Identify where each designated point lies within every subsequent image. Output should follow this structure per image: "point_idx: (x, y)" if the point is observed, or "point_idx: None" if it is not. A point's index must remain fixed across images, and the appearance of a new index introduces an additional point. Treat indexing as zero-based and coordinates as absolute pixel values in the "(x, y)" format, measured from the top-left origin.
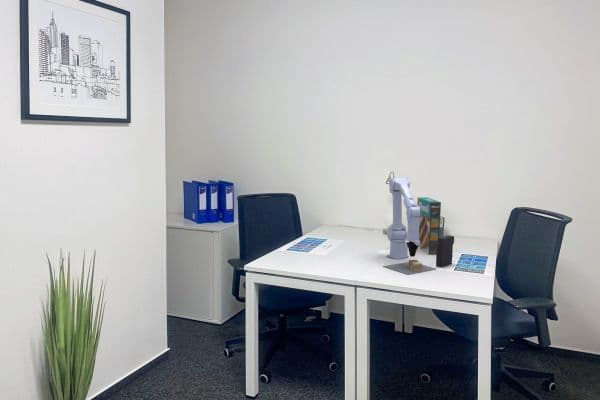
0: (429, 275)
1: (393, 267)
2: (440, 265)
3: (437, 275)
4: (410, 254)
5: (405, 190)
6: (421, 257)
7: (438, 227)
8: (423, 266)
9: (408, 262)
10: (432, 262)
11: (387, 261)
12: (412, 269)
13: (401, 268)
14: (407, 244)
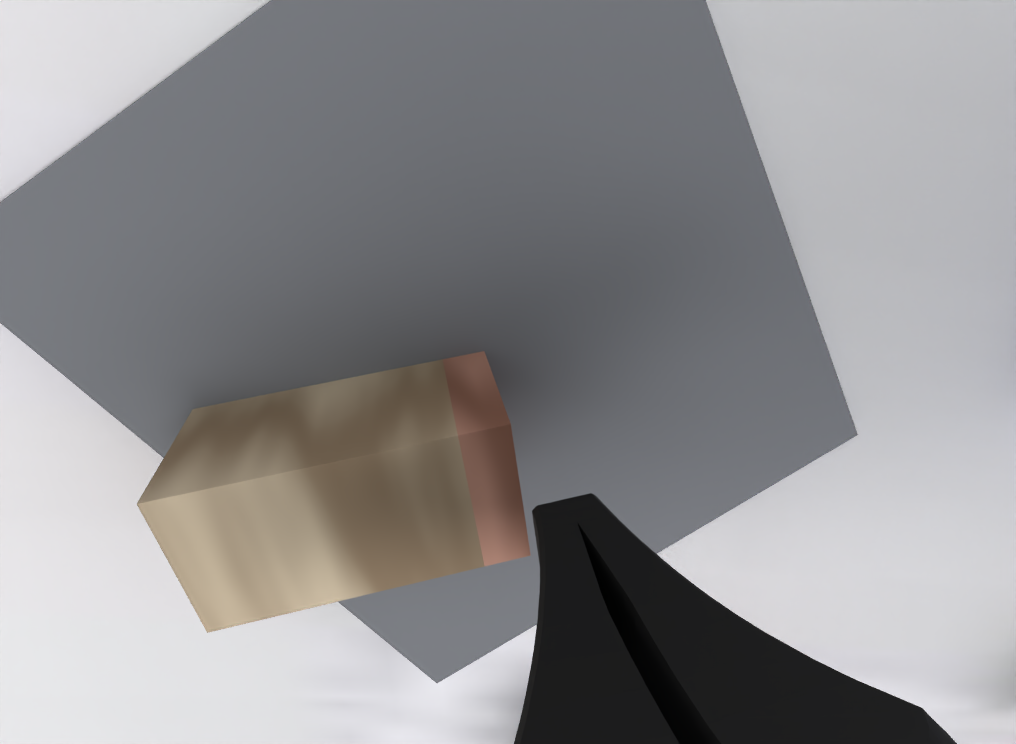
0: (52, 589)
1: (487, 38)
2: None
3: (93, 675)
4: (541, 536)
5: None
6: (997, 565)
7: None
8: None
9: (802, 393)
10: None
11: (997, 30)
12: (293, 396)
13: (412, 207)
14: (787, 732)
